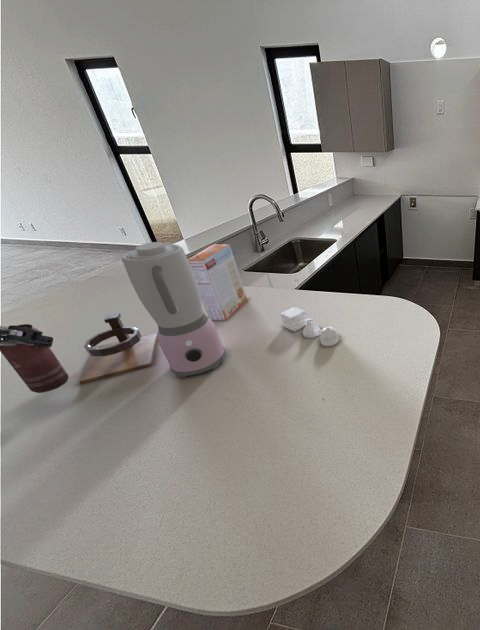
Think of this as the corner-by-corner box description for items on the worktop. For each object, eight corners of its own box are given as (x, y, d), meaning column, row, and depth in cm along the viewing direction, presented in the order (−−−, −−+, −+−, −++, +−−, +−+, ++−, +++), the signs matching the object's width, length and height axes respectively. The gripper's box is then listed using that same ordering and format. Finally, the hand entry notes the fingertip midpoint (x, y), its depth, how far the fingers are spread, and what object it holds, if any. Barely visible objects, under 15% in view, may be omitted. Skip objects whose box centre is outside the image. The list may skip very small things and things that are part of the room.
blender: (173, 359, 88) (116, 242, 72) (223, 344, 94) (182, 233, 78) (174, 394, 77) (107, 265, 61) (231, 375, 83) (185, 253, 66)
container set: (283, 328, 101) (279, 313, 98) (297, 321, 105) (294, 306, 102) (329, 350, 92) (326, 334, 89) (343, 341, 95) (341, 325, 93)
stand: (82, 386, 79) (58, 352, 74) (98, 351, 91) (79, 320, 86) (152, 367, 85) (135, 335, 80) (159, 337, 97) (144, 307, 92)
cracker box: (231, 301, 117) (212, 243, 106) (248, 301, 117) (231, 243, 106) (208, 321, 105) (184, 259, 94) (227, 322, 104) (204, 259, 94)
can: (53, 394, 70) (13, 339, 63) (23, 393, 70) (-21, 339, 63) (78, 375, 76) (44, 322, 69) (50, 375, 76) (13, 322, 69)
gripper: (-23, 301, 55) (73, 324, 71) (-119, 304, 54) (1, 327, 70) (-37, 346, 53) (65, 359, 69) (-137, 350, 52) (-9, 362, 68)
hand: (32, 343), depth 69 cm, fingers closed on can, 6 cm apart
